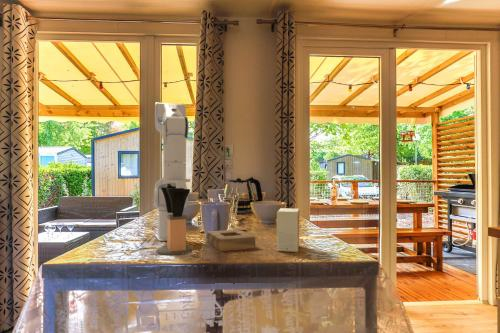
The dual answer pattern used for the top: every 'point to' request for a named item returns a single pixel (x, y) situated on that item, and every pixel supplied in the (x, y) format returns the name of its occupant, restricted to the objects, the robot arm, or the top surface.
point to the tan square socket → (230, 240)
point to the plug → (176, 233)
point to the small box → (288, 229)
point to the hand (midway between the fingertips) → (174, 214)
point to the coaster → (165, 251)
